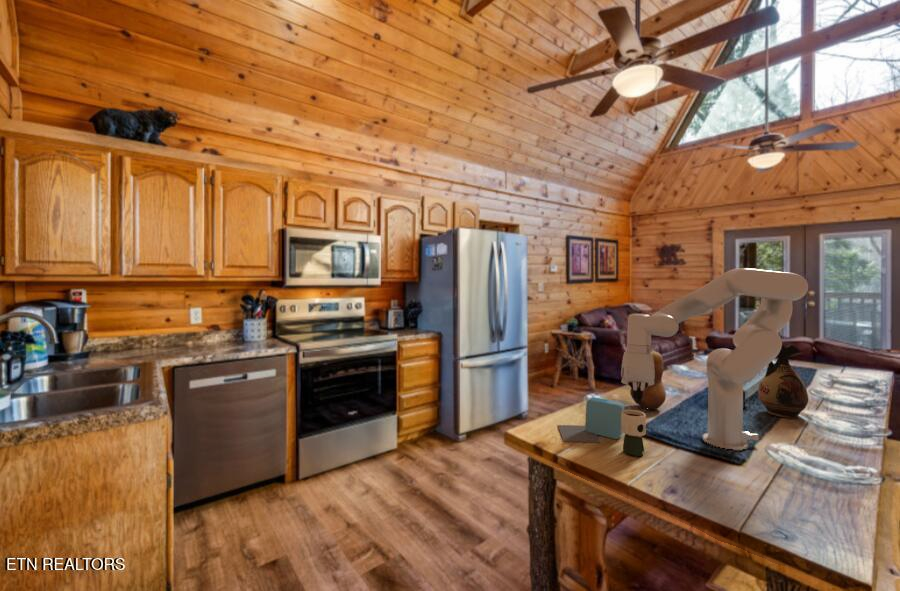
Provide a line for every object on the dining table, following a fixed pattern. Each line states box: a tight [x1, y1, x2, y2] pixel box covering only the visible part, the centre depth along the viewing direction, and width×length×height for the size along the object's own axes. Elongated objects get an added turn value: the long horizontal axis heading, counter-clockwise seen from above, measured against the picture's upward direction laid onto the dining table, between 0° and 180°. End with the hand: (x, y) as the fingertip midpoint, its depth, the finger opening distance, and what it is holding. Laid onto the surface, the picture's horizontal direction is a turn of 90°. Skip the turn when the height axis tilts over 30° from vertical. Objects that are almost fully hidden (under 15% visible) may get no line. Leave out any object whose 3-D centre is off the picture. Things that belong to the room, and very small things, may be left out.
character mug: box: [621, 409, 647, 457], centre depth 127 cm, size 11×7×13 cm, turn 134°
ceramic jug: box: [757, 342, 809, 420], centre depth 160 cm, size 17×15×30 cm
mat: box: [557, 424, 601, 444], centre depth 144 cm, size 12×15×1 cm
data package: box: [584, 396, 625, 440], centre depth 142 cm, size 12×4×12 cm, turn 55°
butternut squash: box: [629, 350, 667, 410], centre depth 170 cm, size 14×13×25 cm
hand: (637, 400), depth 141 cm, fingers closed
